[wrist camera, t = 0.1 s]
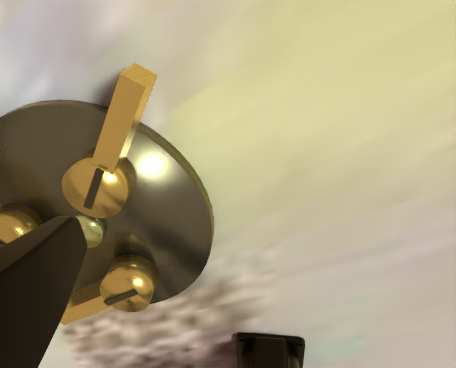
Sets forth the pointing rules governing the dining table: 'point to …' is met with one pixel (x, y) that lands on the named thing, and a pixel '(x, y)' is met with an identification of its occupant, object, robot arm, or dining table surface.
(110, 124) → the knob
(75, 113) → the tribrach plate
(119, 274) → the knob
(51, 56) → the dining table surface
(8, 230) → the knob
